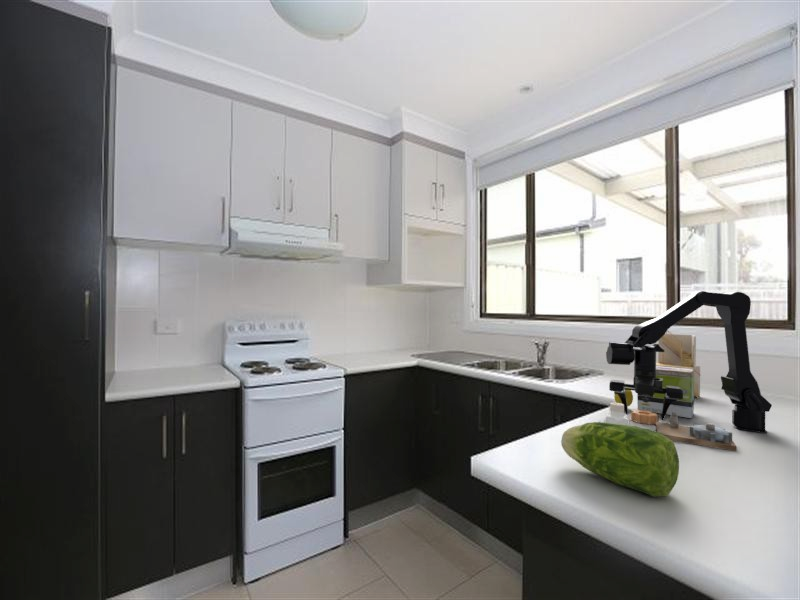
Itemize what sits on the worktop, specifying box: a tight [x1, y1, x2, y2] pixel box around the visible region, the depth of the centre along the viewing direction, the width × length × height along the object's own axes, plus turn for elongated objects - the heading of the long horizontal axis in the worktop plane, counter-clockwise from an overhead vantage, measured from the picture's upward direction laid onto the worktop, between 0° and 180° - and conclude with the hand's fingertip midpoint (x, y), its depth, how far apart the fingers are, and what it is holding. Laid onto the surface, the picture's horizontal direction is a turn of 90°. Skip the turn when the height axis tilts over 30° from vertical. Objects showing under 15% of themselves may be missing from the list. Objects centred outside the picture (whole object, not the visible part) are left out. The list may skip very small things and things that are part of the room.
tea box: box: [636, 366, 695, 419], centre depth 131 cm, size 15×10×15 cm
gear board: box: [655, 412, 738, 452], centre depth 105 cm, size 16×13×5 cm
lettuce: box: [560, 421, 680, 498], centre depth 77 cm, size 12×21×11 cm, turn 41°
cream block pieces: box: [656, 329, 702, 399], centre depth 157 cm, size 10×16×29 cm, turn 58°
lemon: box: [613, 390, 634, 407], centre depth 134 cm, size 6×6×8 cm
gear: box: [630, 409, 659, 425], centre depth 119 cm, size 7×7×2 cm
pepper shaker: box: [604, 401, 629, 426], centre depth 100 cm, size 4×4×10 cm
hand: (644, 417), depth 119 cm, fingers open, 9 cm apart
